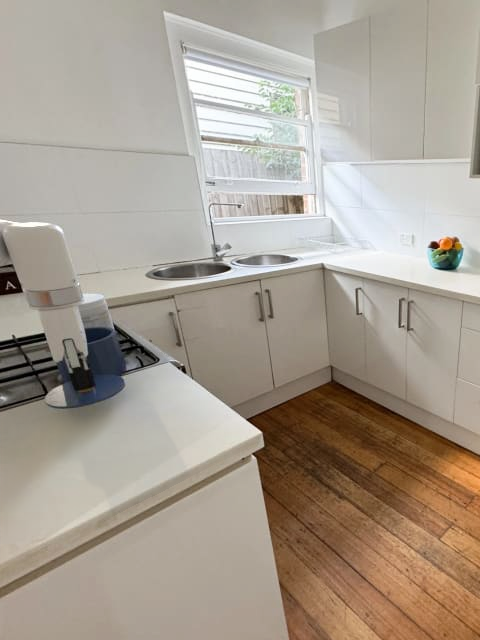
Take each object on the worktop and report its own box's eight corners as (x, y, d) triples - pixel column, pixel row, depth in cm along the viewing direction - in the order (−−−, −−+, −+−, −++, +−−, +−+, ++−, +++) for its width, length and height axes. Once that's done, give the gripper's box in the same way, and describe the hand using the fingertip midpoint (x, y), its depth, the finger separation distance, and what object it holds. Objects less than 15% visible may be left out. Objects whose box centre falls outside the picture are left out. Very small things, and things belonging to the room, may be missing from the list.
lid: (45, 419, 68) (32, 387, 65) (46, 390, 76) (35, 361, 74) (130, 397, 75) (121, 368, 73) (122, 373, 84) (114, 346, 81)
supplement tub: (72, 352, 98) (52, 297, 92) (117, 342, 104) (101, 290, 98) (75, 365, 91) (54, 307, 85) (123, 354, 97) (106, 299, 91)
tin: (64, 392, 81) (48, 351, 77) (63, 371, 88) (49, 334, 85) (129, 376, 87) (117, 338, 84) (123, 358, 95) (112, 323, 91)
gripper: (28, 287, 71) (59, 374, 78) (23, 311, 60) (60, 410, 67) (80, 282, 76) (105, 365, 83) (84, 304, 65) (112, 397, 72)
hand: (85, 384), depth 75 cm, fingers closed on lid, 2 cm apart
